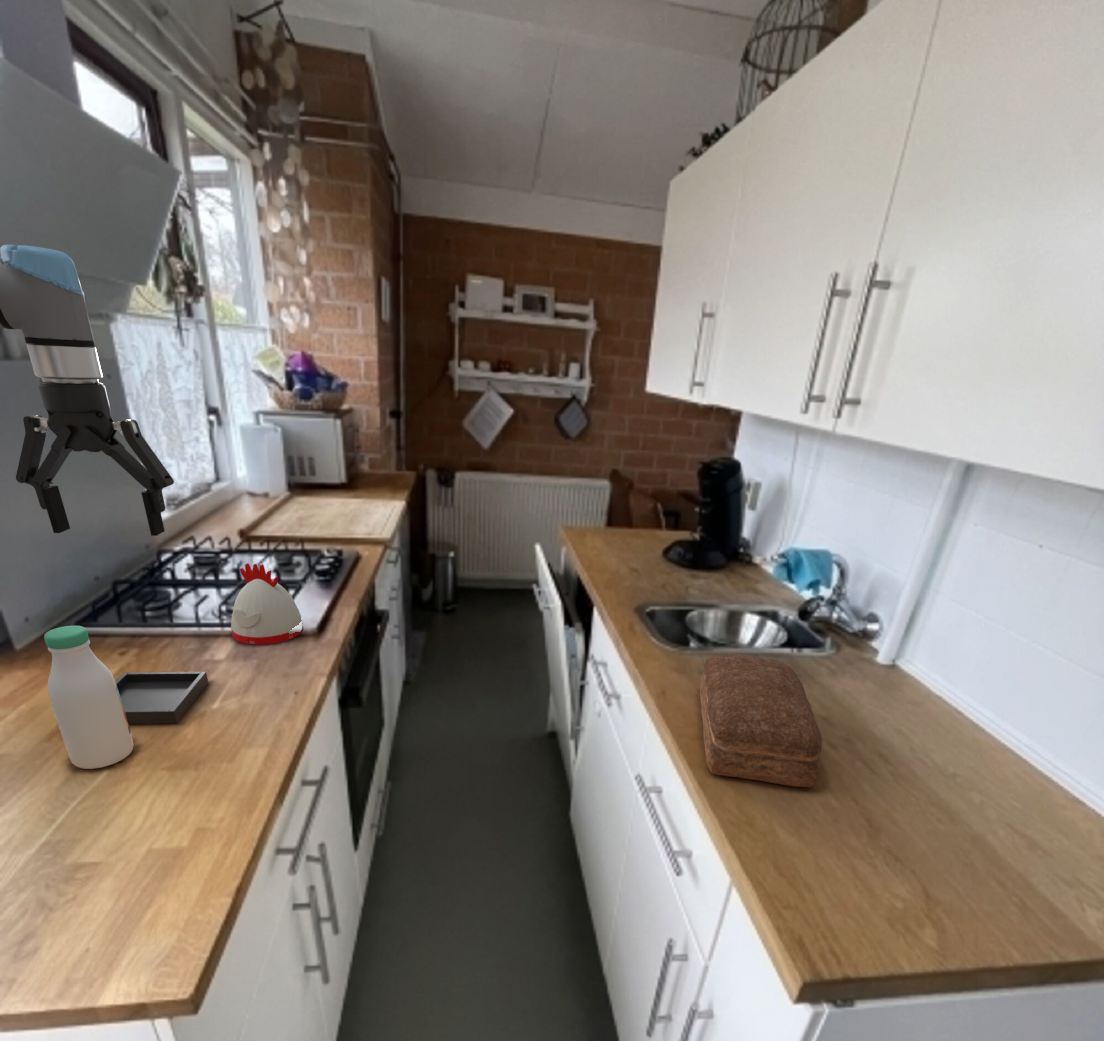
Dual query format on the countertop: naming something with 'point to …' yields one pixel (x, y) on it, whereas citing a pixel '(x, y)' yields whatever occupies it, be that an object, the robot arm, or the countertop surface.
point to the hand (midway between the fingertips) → (110, 532)
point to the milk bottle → (86, 701)
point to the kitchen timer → (263, 610)
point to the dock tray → (159, 695)
